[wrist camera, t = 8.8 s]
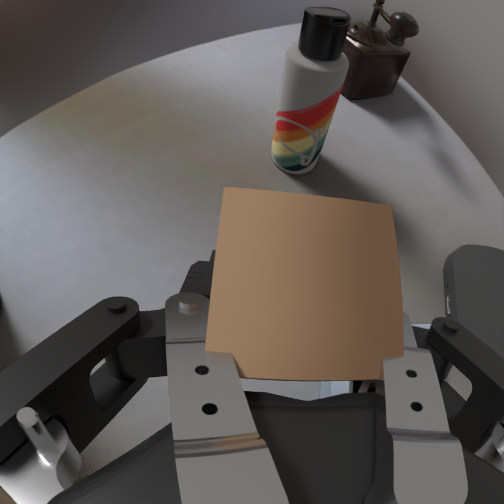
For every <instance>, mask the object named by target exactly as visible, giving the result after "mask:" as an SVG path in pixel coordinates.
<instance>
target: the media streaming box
mask: <svg viewBox="0 0 504 504" xmlns="http://www.w3.org/2000/svg"><path fill="white" fill-rule="evenodd" d="M443 272H444V292H445V310H446V318H449V319H452V320H454V321H456V322H458V323H460V324H461V325H462V326H464V327H465V328H466V329H467V330H469V331H470V332H471V333H473V334H474V335H475V336H476V337H478V338H479V339H480V340H481V341H483V342H484V343H485V344H486V345H488V346H489V347H490V348H491V349H493V350H494V351H495V352H496V353H497V354H499V355H500V356H501V357H502V358H503V359H504V251H503V250H500V249H497V248H493V247H488V246H481V245H463V246H461V247H460V248H458V249H457V250H456V251H454V252H453V253H451V254H450V255H449V256H448V258H447V259H446V261H445V264H444V270H443Z"/></svg>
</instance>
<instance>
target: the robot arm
mask: <svg viewBox="0 0 504 504" xmlns="http://www.w3.org/2000/svg"><path fill="white" fill-rule="evenodd" d="M215 252H216V250H213V252H212V255H211V258H210V261H209V262H208V261H198V262H196V263H195V264H193V265H192V266H191V267H190V269H189V271H188V274H187V276H186V279H185V281H184V283H183V285H182V288H181V290H180V292H179V293H178V294H175V295H173V296H171V297H169V298H168V299H167V300H166V302H165V308H163V309H159V310H153V311H139V305H138V303H137V302H136V301H135V300H133V299H131V298H128V297H120V296H119V297H110V298H107V299H104V300H102V301H100V302H99V303H97V304H96V305H94V306H93V307H91V308H90V309H88V310H87V311H85V312H84V313H82V314H81V315H80V316H78V317H77V318H75V319H74V320H72V321H71V322H69V323H68V324H66V325H65V326H64V327H62V328H61V329H59V330H58V331H56V332H55V333H54V334H52V335H51V336H49V337H48V338H46V339H45V340H44V341H42V342H41V343H39V344H38V345H37V346H35V347H34V348H32V349H31V350H30V351H28V352H27V353H26V354H24V355H23V356H21V357H20V358H19V359H17V360H16V361H15V362H13V363H12V364H10V365H9V366H8V367H6V368H5V369H4V370H2V371H1V372H0V488H1V489H2V490H3V491H4V492H5V493H6V494H7V495H8V496H9V497H11V498H12V499H13V500H15V501H16V502H17V503H18V504H504V359H503V358H502V357H501V356H500V355H499V354H497V353H496V352H495V351H494V350H493V349H491V348H490V347H489V346H488V345H486V344H485V343H484V342H483V341H481V340H480V339H479V338H478V337H476V336H475V335H474V334H473V333H471V332H470V331H469V330H467V329H466V328H465V327H464V326H462V325H461V324H460V323H458V322H456V321H454V320H452V319H449V318H444V317H439V318H435V319H434V320H433V321H432V323H431V326H430V328H429V329H426V328H421V327H416V326H412V325H411V321H410V318H409V316H408V315H407V314H406V313H405V312H403V334H404V357H383V358H382V363H381V369H380V374H379V379H373V380H357V381H349V393H343V394H339V395H335V396H330V397H326V398H321V399H317V400H312V401H303V400H298V399H293V398H289V397H284V396H280V395H275V394H271V393H267V392H251V391H243V387H242V384H241V381H240V378H239V375H238V372H237V369H236V366H235V362H234V359H233V356H232V353H225V352H214V351H205V343H206V333H207V323H208V314H209V304H210V295H211V286H212V278H213V269H214V261H215ZM104 358H105V361H106V362H105V363H104V364H103V365H102V366H101V367H100V368H99V369H98V370H96V371H95V372H94V373H93V374H92V375H91V376H90V373H91V371H92V369H93V368H94V367H95V366H96V365H97V364H98V363H99V362H100V361H101V360H102V359H104ZM453 365H454V366H455V367H456V368H457V369H458V370H460V371H461V372H462V373H463V374H464V375H465V376H466V377H467V378H468V379H469V380H470V381H471V383H472V393H471V395H470V396H469V398H468V399H467V401H465V400H464V399H463V398H462V397H461V396H460V395H459V394H458V393H457V392H456V391H455V390H454V389H453V388H452V387H451V386H450V385H449V384H448V383H447V382H446V381H445V379H446V377H447V375H448V373H449V371H450V370H451V368H452V366H453ZM161 376H168V388H169V400H170V411H171V421H172V422H171V423H169V424H168V425H167V426H165V427H164V428H162V429H161V430H159V431H158V432H156V433H155V434H154V435H152V436H151V437H149V438H148V439H146V440H145V441H143V442H142V443H140V444H139V445H137V446H136V447H134V448H133V449H131V450H130V451H128V452H126V453H125V454H123V455H122V456H120V457H119V458H117V459H116V460H114V461H112V462H111V463H109V464H108V465H106V466H104V467H103V468H101V469H99V470H98V471H96V472H94V473H93V474H91V475H89V476H88V477H86V478H84V479H83V480H81V481H79V482H78V483H76V484H74V483H75V481H76V479H77V475H78V474H79V472H80V469H81V457H80V455H79V454H80V453H81V452H82V451H83V450H84V449H85V448H86V447H87V446H88V445H89V443H90V442H91V441H92V440H93V439H94V438H95V437H96V436H97V435H98V434H99V433H100V432H101V431H102V430H103V428H104V427H105V426H106V425H107V424H108V423H109V422H110V421H111V420H112V419H113V418H114V417H115V416H116V415H117V413H118V412H119V411H120V410H121V409H122V408H123V407H124V406H125V405H126V404H127V403H128V402H129V401H130V399H131V398H132V397H133V396H134V395H135V394H136V393H137V392H138V391H139V390H140V389H141V388H142V386H143V385H144V384H145V383H146V382H147V380H148V378H150V377H161ZM73 484H74V485H73Z"/></svg>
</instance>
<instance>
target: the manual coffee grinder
mask: <svg viewBox="0 0 504 504" xmlns="http://www.w3.org/2000/svg"><path fill="white" fill-rule="evenodd" d="M384 2H385V0H376V3H374V4H373V7H374V11H373V14H372V17H371V19H370V21H365V20H351V22H350V26H349V29H348V33H347V37H346V40H345V44H344V47H343V51H342V52H343V53H344V54H345V56H346V57H347V59H348V61H349V67H348V71H347V74H346V77H345V80H344V84H343V87H342V90H341V94H343V95H344V96H345V97H347V98H348V99H349V100H354V99H367V98H373V97H379V96H384V95H387V94H390V93H392V92H393V90H394V88H395V85H396V83H397V81H398V79H399V77H400V75H401V73H402V71H403V68H404V66H405V64H406V62H407V60H408V58H409V56H410V53H411V52H410V51H409V50H407V49H406V48H405V47H404V46H403V45H404V43H405V42H404V40H405V38H408V37H413V36H416V35H417V34H418V32H419V25H418V23H417V21H416V20H415V19H414V18H413V17H412V16H411V15H409V14H408V13H404V12H395V13H393V14H392V15H391V16H390V17H389V15H388V14H387V13H386V12H385V11H384V10H383V4H384ZM379 13H380V15H381V16H382V17H383V18H384V19H385V20H386V21H387V22H388V23H389V24H390V25H391V29H390V30H388V31H387V32H385V31H384V30H383V29H382V28H380V27H379V26H377V25H376V21H377V18H378V15H379Z"/></svg>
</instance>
